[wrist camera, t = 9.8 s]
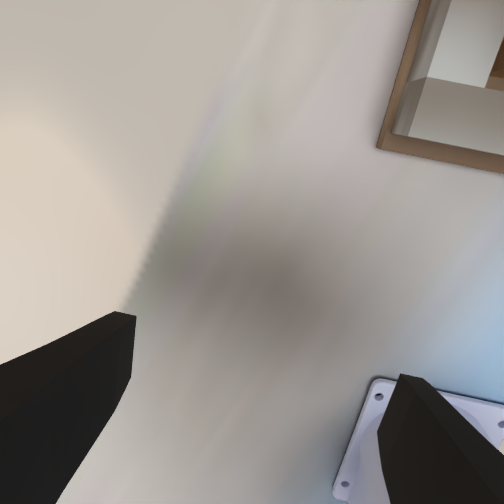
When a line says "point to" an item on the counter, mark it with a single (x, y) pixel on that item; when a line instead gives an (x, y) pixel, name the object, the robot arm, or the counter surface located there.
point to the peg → (499, 63)
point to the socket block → (450, 86)
